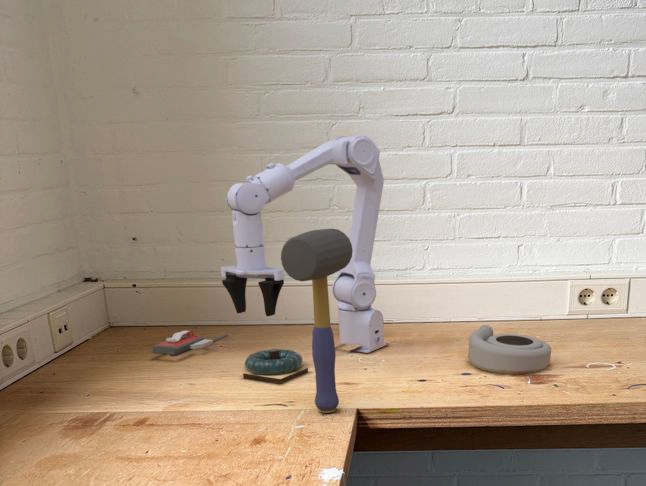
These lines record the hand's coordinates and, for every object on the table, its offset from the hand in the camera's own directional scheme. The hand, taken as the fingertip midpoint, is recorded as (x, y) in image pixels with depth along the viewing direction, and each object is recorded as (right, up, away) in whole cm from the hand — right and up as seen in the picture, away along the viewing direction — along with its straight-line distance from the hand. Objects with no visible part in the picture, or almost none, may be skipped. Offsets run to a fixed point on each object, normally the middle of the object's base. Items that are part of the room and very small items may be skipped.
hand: (255, 313), depth 163 cm
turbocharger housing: (+51, -11, -3) cm, 52 cm away
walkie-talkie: (-17, -6, +15) cm, 23 cm away
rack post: (+5, -13, -6) cm, 15 cm away
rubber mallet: (+17, -21, -28) cm, 39 cm away
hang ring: (+5, -10, -7) cm, 13 cm away
